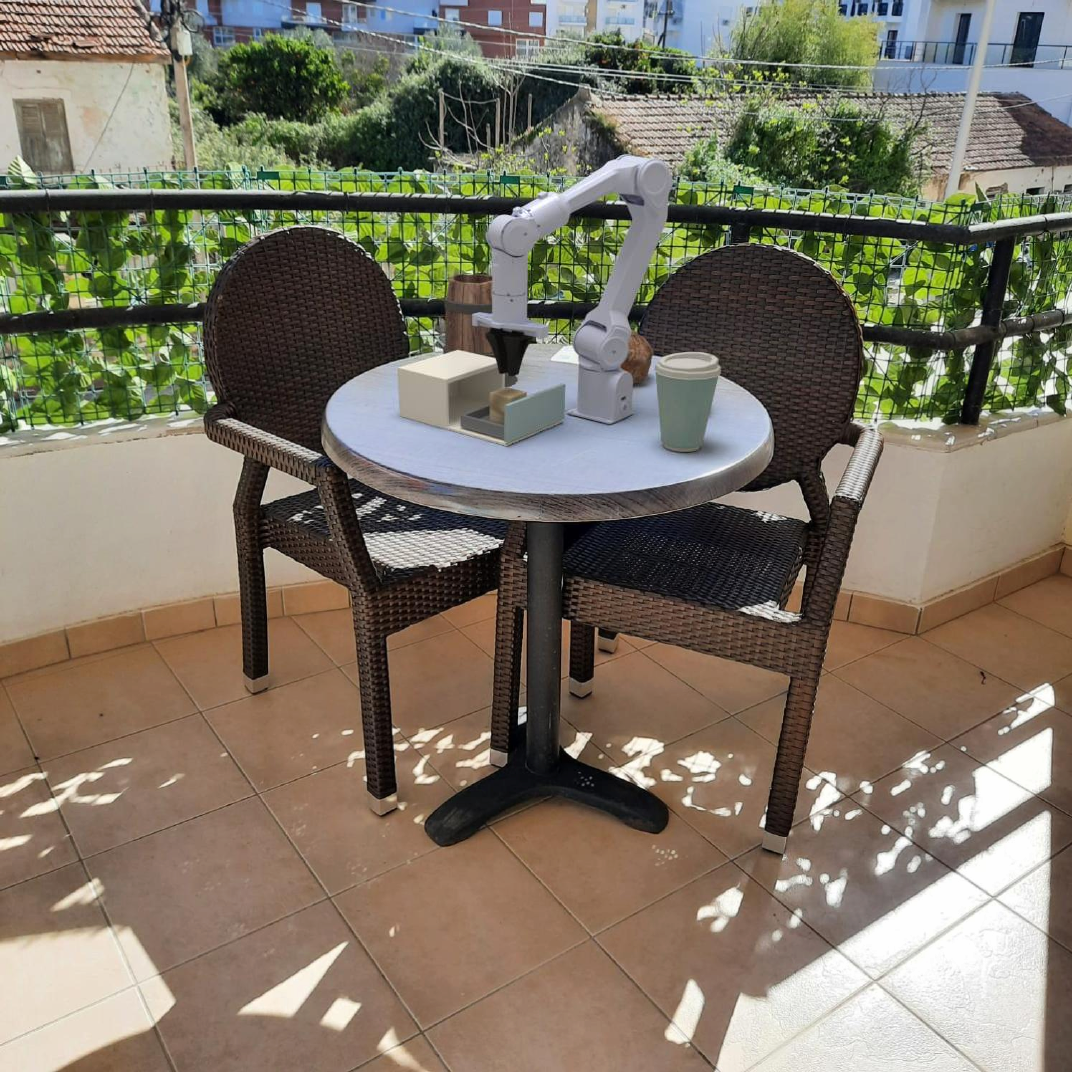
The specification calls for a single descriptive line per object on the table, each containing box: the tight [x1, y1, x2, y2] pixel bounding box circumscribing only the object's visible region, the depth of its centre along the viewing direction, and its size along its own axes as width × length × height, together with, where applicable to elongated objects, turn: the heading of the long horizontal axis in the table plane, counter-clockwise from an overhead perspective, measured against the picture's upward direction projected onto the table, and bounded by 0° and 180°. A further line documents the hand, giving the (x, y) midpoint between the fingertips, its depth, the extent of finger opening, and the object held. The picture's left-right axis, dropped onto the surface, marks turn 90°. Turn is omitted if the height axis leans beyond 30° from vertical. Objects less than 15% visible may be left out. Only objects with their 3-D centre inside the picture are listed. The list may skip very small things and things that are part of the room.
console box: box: [397, 350, 563, 447], centre depth 169 cm, size 24×16×9 cm, turn 53°
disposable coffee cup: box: [654, 351, 722, 453], centre depth 158 cm, size 11×11×15 cm
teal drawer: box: [460, 383, 566, 443], centre depth 166 cm, size 11×16×6 cm
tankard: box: [442, 273, 519, 388], centre depth 192 cm, size 24×17×20 cm
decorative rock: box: [621, 329, 654, 384], centre depth 194 cm, size 13×11×10 cm
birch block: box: [490, 387, 528, 425], centre depth 166 cm, size 4×4×5 cm
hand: (508, 373), depth 164 cm, fingers closed
